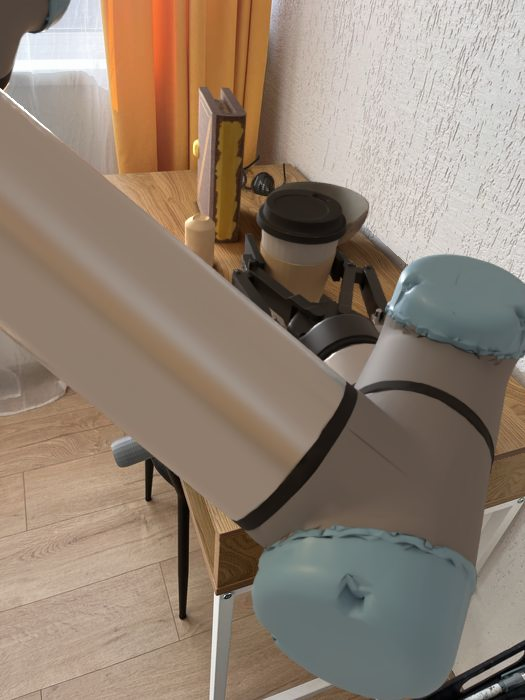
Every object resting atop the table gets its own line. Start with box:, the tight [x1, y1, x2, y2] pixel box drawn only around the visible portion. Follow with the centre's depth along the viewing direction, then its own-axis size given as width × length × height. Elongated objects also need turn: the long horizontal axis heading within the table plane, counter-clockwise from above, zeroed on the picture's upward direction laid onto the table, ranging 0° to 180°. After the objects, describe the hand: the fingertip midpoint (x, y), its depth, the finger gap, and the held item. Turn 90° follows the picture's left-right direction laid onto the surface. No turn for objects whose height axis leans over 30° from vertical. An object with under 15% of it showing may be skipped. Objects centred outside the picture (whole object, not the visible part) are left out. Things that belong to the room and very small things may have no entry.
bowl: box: [270, 180, 370, 247], centre depth 110 cm, size 20×20×10 cm
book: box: [192, 86, 248, 243], centre depth 110 cm, size 22×8×25 cm, turn 13°
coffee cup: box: [255, 189, 346, 326], centre depth 58 cm, size 9×9×15 cm
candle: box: [184, 212, 216, 268], centre depth 99 cm, size 6×6×10 cm
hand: (285, 243), depth 61 cm, fingers closed on coffee cup, 8 cm apart
